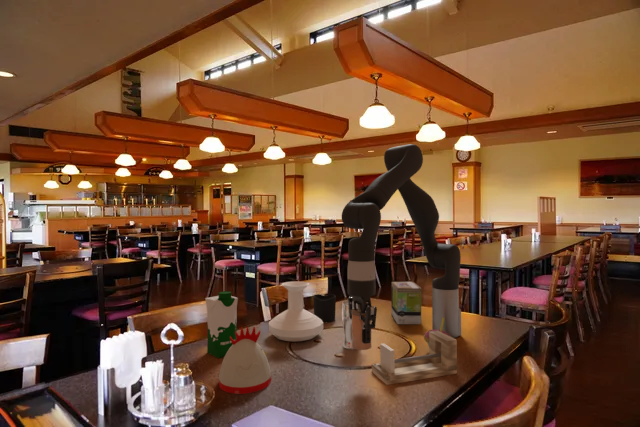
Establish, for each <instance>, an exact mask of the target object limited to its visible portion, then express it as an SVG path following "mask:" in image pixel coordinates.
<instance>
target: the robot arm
mask: <svg viewBox="0 0 640 427" xmlns="http://www.w3.org/2000/svg"><path fill="white" fill-rule="evenodd" d="M383 160H384V166H385V168H386V172H384V173H382V174H381V175H379V176H378V177H376V178H375V179H374V180H373V181H372V182H371V183H370V184H369V185H368V187H366V189H365V191H364V192H362V193H360V194H358V195H357V196H356V197H354V198H353V199H350V201H349V202H347V204H345V205H344V207H343V210H341V211H342V212H341V222H342V224H343V226H344V227H346V228H348V229H350V230H362V232H361V234H360V236H359V237H353V238H351V239H350V240H349V241H348V245H347V246H348V250H347V252H348V256H347V258H348V261H347V262H348V263H347V295H349V297H348V298H347V300H348V305H349V317H350V319H352V313H351V310H352V309H354V310H358V312H359V320H360V321H361V325H362V342H363V343H364V344H366V343H370V342H371V343H372V329H375V328H376V321H377V314H378V313H377V311H378V309H377V308H378V307H377V306H373V305H372V300H371V298H372V296H375V295H376V290H377V288H376V285H377V284H376V280H377V279H376V264H375V247H376V246H375V244H376V241H377V235H378V233H379V228H380V224H381V220H382V213H381V211H382V209H383V208H384V207H386V205H387V204H388V202H390V199H391V198H392V197H393V195H394V194H395V193H396V192H397V191H398V192H399V195H400V196H401V198H402V200H403V202H404V204H405V206H406V209H407V212H408V213H409V216H410V219H411V220H412V223H413V225H414V226H415V229H416V231H417V234H418V237H419V238H420V242H421V244H422V248H423V251H424V255H425V257H426V261H427V263H428V264H429V266H430V267H432V268H434V269H439V270H444V274H443V275H442V276H440V277H436V278H433V279H432V281H431V282H432V283H431V289H432V290H431V295H432V296H431V297H432V298H431V299H432V301H431V303H432V304H431V306H432V307H431V308H432V310H431V311H432V312H431V313H432V315H431V316H432V320H431V321H432V325H431V326H432V327H431V328H432V329H431V330H434V329H440V328H441V322H442V318H443V316H444V323H443V329H442V330H444V331H446V332H447V333H448V334H450V336H451V337H452V338H454V339H456V338H458V337H459V336H462V309H461V308H459V307H460V306H459V298H460V297H459V294H460V293H459V290H460V288H459V286H460V284H459V283H460V280H461V277H460V275H461V257H462V256H461V250H460V247H459V246H458V245H457V244H451V243H439V242H438V240H437V239H436V234H435V232H436V229H437V227H438V224H439V220H440V213H439V210H438V208H437V205H436V204H435V201H434V199H433V197H432V196H431V195H429V193H428V192H426V191H425V190H424V189H423V188H422V187H420V186H418V184H416V183H415V182H414V181H413V180H412V177H414V176H415V174H417V173H418V172H419V171H420V170H421V168H422V167H423V163H424V155H423V152H422V150H421V148H420V147H419V146H418V145H416V144H414V143H412V144H403V145H398V146H397V145H396V146H393V147H390V148H388V149H386V150H385V152H384V154H383ZM362 313H366V317H363V316H362ZM364 320H365V322H364Z"/></svg>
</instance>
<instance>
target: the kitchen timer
mask: <svg viewBox="0 0 640 427" xmlns="http://www.w3.org/2000/svg"><path fill="white" fill-rule="evenodd" d="M235 334H236V338H237V339H236V340H233V339H232V338H231V337H230V339H231V342H232V343H233V345H232V346H231V347H230V348H229V350H228V351H227V353H226V355H225V356H224V357H223V360H222V362H221V366H220V369H219V373H218V374H219V375H218V387H219V389H220V390H222V391H224V392H226V393H229V394H238V395H245V394H251V393H256V392H259V391H262V390H264V389H265V387H266V388H267V387H269V385H270V384H271V382H272V371H271V366H270V364H269V360H268V357H267V355H268V353H267V351H265V350H264V349H263V348H262V346H261V345H260V344H259V343H258V342H257V341H258V339H259V337H260V335H261V330H259V331H258V332H257V333H256V327H255V326H253V328H252V331H251V333H250V330H249V327H248V326H246V331H245V332H244V329H243V326H241V327H240V334H239V333H238V331H237V332H235ZM258 390H259V391H258ZM255 391H256V392H255Z"/></svg>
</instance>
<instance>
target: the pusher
mask: <svg viewBox="0 0 640 427" xmlns="http://www.w3.org/2000/svg"><path fill="white" fill-rule="evenodd" d="M379 346H380V347H379V348H380V351H379V353H380V354H379V355H380V357H379V358H380V362H379V363H380V368H381V369H382V370H383V371H384V372H386V373H387V374H393V373H395V363H401V362H408V361H414V360H421V359H428V358H435V357H441V353H437V354H430V355H429V354H424V355H417V356H410V357H404V358H395V355H396V354H395V349H393V348H392V347H390V346H389V345H387V344H386V343H384V342H383V343H380V345H379Z"/></svg>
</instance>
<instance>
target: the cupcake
mask: <svg viewBox="0 0 640 427" xmlns="http://www.w3.org/2000/svg"><path fill="white" fill-rule="evenodd" d="M443 323H444V316H443V318H442V322H441V328H440V329H434V330H432V329H429V330H428V331H426V332H425V333H424V336H423V339H424V341H425V342H426V343H427V344H428V346H429V332H431V331H439V332H442V333H444V334H446V335H448V336H450V334H448V333H447V332H446V331H444V330H442V329H443ZM450 337H451V336H450Z"/></svg>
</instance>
